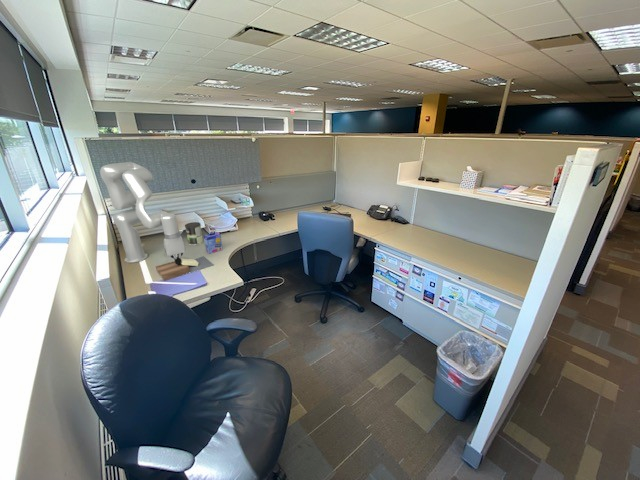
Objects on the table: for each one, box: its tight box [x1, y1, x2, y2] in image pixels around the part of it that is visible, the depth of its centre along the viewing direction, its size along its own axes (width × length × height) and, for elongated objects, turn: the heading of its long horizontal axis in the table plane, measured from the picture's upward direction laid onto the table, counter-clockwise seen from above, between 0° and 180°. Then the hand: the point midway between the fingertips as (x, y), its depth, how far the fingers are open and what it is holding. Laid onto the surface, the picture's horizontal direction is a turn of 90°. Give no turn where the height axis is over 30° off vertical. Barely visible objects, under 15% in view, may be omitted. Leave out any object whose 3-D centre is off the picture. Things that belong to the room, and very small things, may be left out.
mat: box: [187, 255, 215, 273], centre depth 170 cm, size 16×14×1 cm
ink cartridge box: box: [203, 231, 223, 255], centre depth 186 cm, size 10×6×14 cm, turn 137°
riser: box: [155, 260, 190, 282], centre depth 161 cm, size 15×14×3 cm
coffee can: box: [184, 221, 204, 246], centre depth 199 cm, size 10×10×14 cm
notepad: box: [181, 257, 198, 266], centre depth 166 cm, size 6×9×2 cm, turn 133°
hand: (178, 264), depth 162 cm, fingers closed
